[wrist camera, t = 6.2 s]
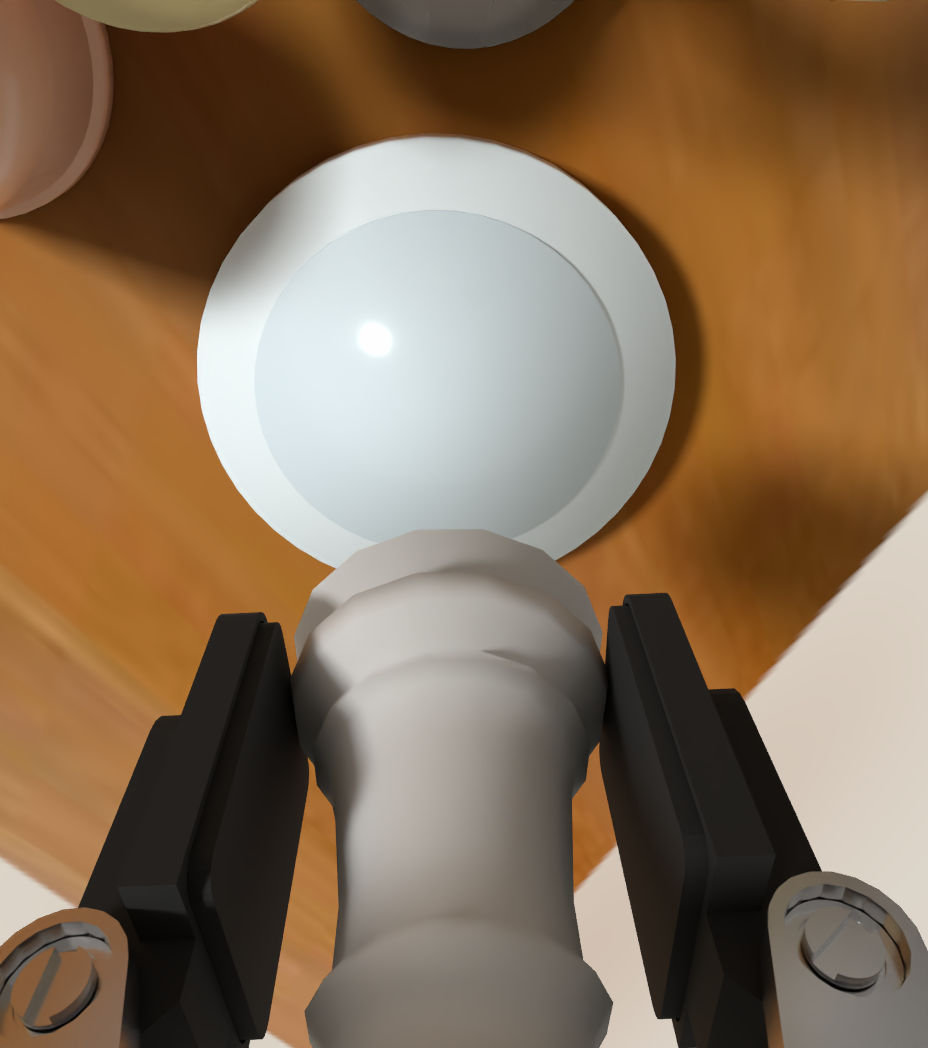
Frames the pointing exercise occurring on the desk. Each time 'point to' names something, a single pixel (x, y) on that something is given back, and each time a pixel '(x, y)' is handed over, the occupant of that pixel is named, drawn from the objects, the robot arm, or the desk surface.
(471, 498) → the dish
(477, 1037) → the rook chess piece
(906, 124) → the desk surface
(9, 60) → the peach dome knob
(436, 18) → the balance
